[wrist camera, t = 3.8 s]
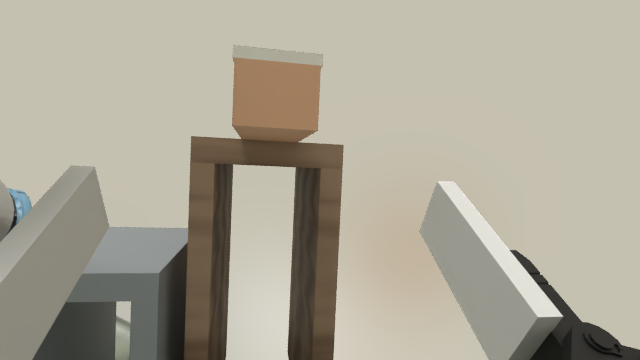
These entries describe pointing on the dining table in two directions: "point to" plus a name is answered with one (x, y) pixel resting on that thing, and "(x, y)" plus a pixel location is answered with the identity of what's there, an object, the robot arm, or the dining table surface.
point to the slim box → (275, 93)
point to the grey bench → (126, 298)
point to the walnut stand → (307, 250)
